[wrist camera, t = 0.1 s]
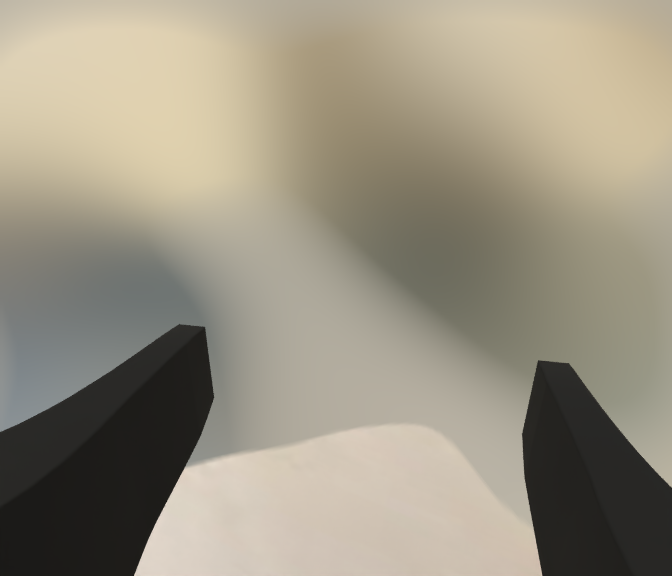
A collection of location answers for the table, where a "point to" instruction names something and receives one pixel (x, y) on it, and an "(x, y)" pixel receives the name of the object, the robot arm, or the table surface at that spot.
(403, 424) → the table surface
